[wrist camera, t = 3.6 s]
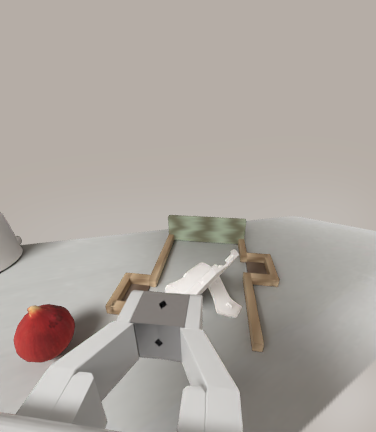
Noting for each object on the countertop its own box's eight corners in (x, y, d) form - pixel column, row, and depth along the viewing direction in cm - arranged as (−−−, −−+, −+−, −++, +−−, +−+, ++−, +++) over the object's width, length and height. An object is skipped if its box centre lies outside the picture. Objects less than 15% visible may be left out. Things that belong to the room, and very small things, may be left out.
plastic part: (196, 277, 38) (197, 220, 34) (244, 308, 32) (253, 243, 27) (165, 300, 34) (160, 238, 29) (214, 341, 27) (218, 270, 22)
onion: (71, 323, 30) (55, 279, 27) (87, 350, 26) (72, 304, 23) (21, 353, 26) (-4, 307, 23) (33, 390, 22) (5, 342, 19)
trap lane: (97, 330, 29) (87, 298, 26) (152, 235, 52) (150, 214, 49) (301, 357, 25) (313, 323, 23) (263, 243, 48) (266, 219, 46)
